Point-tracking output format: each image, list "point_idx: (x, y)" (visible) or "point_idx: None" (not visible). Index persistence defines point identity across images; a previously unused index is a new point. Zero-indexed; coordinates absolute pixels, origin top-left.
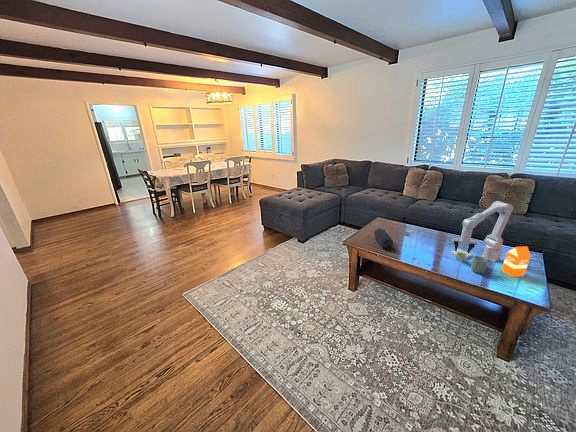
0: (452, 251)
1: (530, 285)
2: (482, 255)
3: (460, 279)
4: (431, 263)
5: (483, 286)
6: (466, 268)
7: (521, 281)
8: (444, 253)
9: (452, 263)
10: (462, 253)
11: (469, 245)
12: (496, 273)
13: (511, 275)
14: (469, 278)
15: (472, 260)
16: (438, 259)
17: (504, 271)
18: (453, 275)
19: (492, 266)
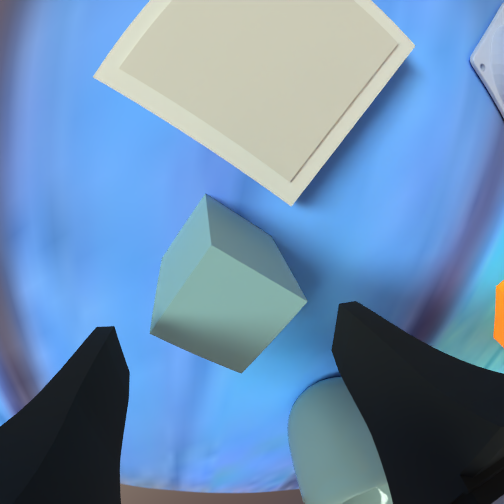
0: (122, 54)
1: (500, 372)
2: (490, 40)
3: (194, 490)
4: (3, 404)
5: (293, 487)
6: (254, 394)
7: (495, 360)
8: (31, 115)
9: (132, 362)
10: (243, 324)
11: (429, 453)
12: (444, 351)
13: (497, 338)
14: (244, 473)
15: (303, 486)
16: (8, 329)
17: (499, 306)
18: (157, 478)
19: (482, 250)
